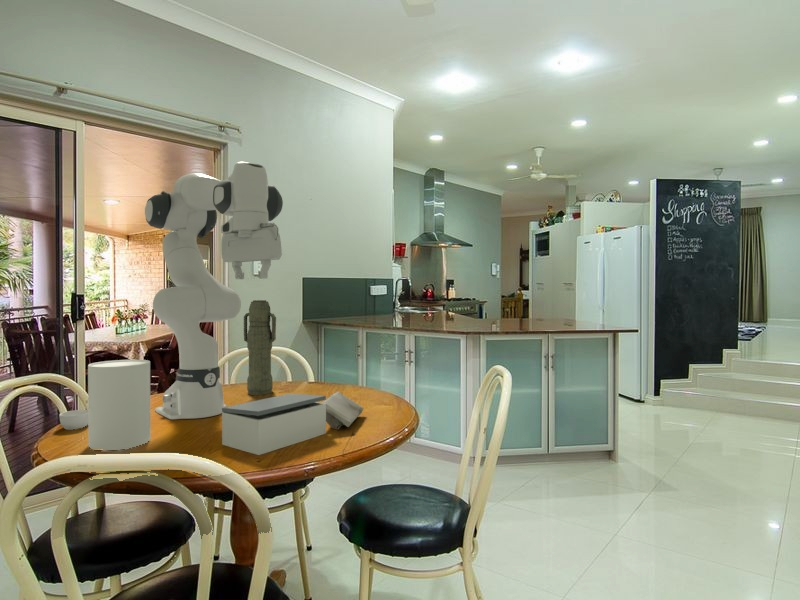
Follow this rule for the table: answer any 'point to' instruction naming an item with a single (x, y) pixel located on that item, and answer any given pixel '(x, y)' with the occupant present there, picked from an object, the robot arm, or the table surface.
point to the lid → (273, 404)
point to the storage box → (273, 428)
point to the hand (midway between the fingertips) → (251, 278)
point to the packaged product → (341, 410)
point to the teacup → (74, 419)
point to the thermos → (259, 347)
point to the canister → (118, 404)
